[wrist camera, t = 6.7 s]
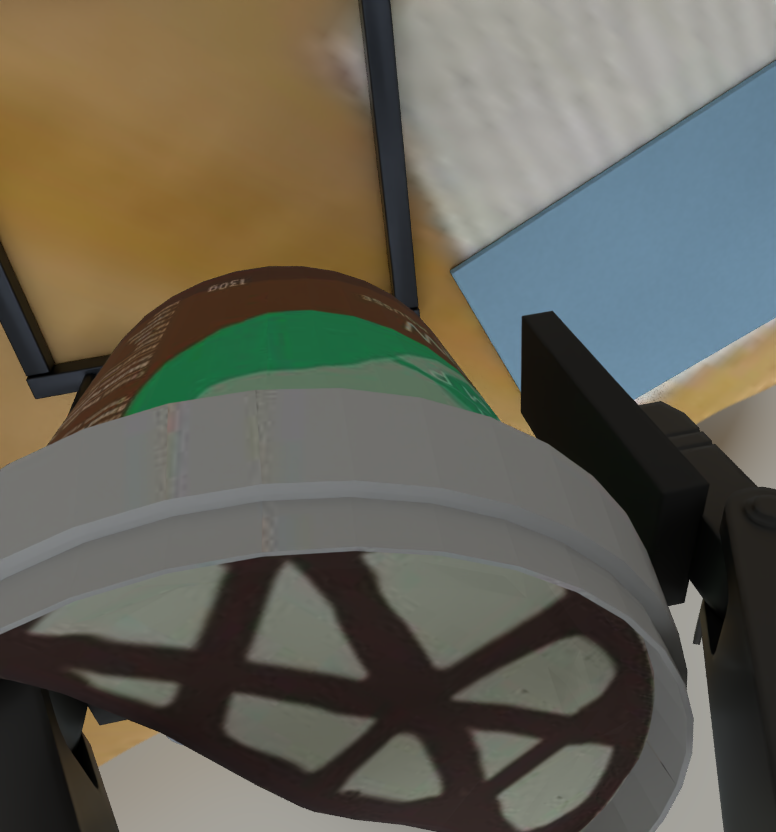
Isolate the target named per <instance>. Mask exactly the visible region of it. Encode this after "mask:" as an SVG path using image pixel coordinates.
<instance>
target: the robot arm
mask: <svg viewBox="0 0 776 832" xmlns="http://www.w3.org/2000/svg"><path fill="white" fill-rule="evenodd" d="M521 413H522V415H523V417H524V418H525V420H526V422H527V423H528V425H529V426H530V428H531V430H532V431H533V433H534V435H535V436H536V438H537V439H539V440H541V441H543V442H545V443H547V444H549V445H550V446H552V447H553V448H555V449H556V450H557V451H559V452H560V453H562V454H563V455H564V456H566V457H567V458H568V459H570V460H571V461H573V462H574V463H575V464H577V465H578V466H580V467H581V468H582V469H584V470H585V471H586V472H588V473H589V474H591V475H592V476H593V477H594V478H595V479H596V480H597V481H598V482H599V483H600V484H601V485H602V487H603V488H604V489H605V490H606V491H607V492H608V493H609V494H610V495H611V497H612V498H613V499H614V500H615V501H616V502H617V503H618V504H619V505H620V507H621V508H622V509H623V510H624V511H625V512H626V513H627V515H628V517H629V519H630V521H631V523H632V525H633V526H634V528H635V530H636V532H637V534H638V536H639V537H640V539H641V541H642V543H643V545H644V547H645V549H646V550H647V553H648V555H649V558H650V560H651V563H652V566H653V568H654V571H655V573H656V576H657V579H658V581H659V584H660V586H661V589H662V592H663V594H664V597H665V599H666V602H667V605H668V606H671V605H676V604H681V603H684V602H685V597H686V592H687V588H688V583H689V579H690V581H691V582H692V583H693V585H694V586H695V588H696V589H697V590H698V592H699V593H700V595H701V596H702V597H703V600H702V604H701V609H700V613H699V617H698V621H697V625H696V630H695V634H694V640H693V644H698V645H700V642H701V638H702V641H703V650H704V658H705V668H706V677H707V685H708V694H709V703H710V712H711V720H712V729H713V739H714V747H715V757H716V765H717V774H718V783H719V792H720V801H721V809H722V819H723V827H724V832H776V489H771V488H766V487H757V486H756V485H755V484H754V483H753V482H752V481H751V480H750V479H749V478H748V477H747V476H746V475H745V474H744V473H743V472H742V471H741V470H740V469H739V468H738V466H736V465H735V463H733V462H732V460H730V458H729V457H727V455H725V453H724V452H723V451H722V450H720V448H718V446H717V445H716V444H712V441H711V439H710V438H709V437H708V436H707V435H706V434H705V433H704V432H700V430H699V427H698V426H697V425H696V424H695V423H694V422H693V421H692V420H691V419H690V418H689V417H688V416H687V415H686V414H685V413H683V412H681V411H679V410H677V409H675V408H673V407H671V406H670V405H668V404H666V403H664V402H662V401H659V402H654V403H648V404H643V405H638V404H637V403H636V402H635V401H634V400H633V399H632V398H631V397H630V395H629V394H628V393H627V392H626V391H625V390H624V389H623V388H622V387H621V385H620V384H619V383H618V382H617V381H616V380H615V379H614V378H613V377H612V376H611V374H610V373H609V372H608V371H607V370H606V369H605V368H604V367H603V366H602V365H601V363H600V362H599V361H598V360H597V359H596V358H595V357H594V356H593V355H592V354H591V352H590V351H589V350H588V349H587V348H586V347H585V346H584V345H583V344H582V342H581V341H580V340H579V339H578V338H577V337H576V336H575V335H574V334H573V333H572V331H571V330H570V329H569V328H568V327H567V326H566V325H565V324H564V323H563V322H562V320H561V319H560V318H559V317H558V316H557V315H556V314H555V313H554V312H553V311H548V312H542V313H536V314H530V315H524V316H522V326H521ZM87 707H89V709H90V710H91V712H92V714H93V715H94V717H95V719H96V720H97V722H98V724H99V725H104V724H108V723H113V722H118V721H123V720H127V719H125V718H123V717H120V716H118V715H115V714H113V713H110V712H108V711H105V710H103V709H100V708H97V707H95V706H92V705H90V704H87V703H85V702H82V701H80V700H77V699H75V698H72V697H70V696H67V695H65V694H62V693H59V692H55V691H51V690H47V689H43V688H39V687H35V686H32V685H28V684H24V683H20V682H16V681H12V680H7V679H2V678H0V832H119V830H118V826H117V824H116V820H115V817H114V815H113V811H112V808H111V806H110V802H109V799H108V797H107V793H106V790H105V787H104V784H103V781H102V778H101V775H100V772H99V769H98V766H97V763H96V760H95V757H94V754H93V751H92V748H91V745H90V743H89V742H88V740H87V738H86V737H85V735H84V734H83V732H82V728H83V724H84V720H85V715H86V711H87Z"/></svg>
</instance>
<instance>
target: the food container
mask: <svg viewBox="0 0 776 832" xmlns="http://www.w3.org/2000/svg"><path fill="white" fill-rule="evenodd" d="M0 678H2V679H7V680H12V681H16V682H20V683H24V684H28V685H32V686H35V687H39V688H43V689H47V690H51V691H55V692H59V693H62V694H65V695H67V696H70V697H72V698H75V699H77V700H80V701H82V702H85V703H87V704H90V705H92V706H95V707H97V708H100V709H103V710H105V711H108V712H110V713H113V714H115V715H118V716H120V717H123V718H125V719H128V720H130V721H133V722H135V723H138V724H140V725H143V726H145V727H148V728H150V729H153V730H155V731H158V732H161V733H162V734H164V735H166V736H168V737H170V738H171V739H173V740H175V741H177V742H179V743H181V744H182V745H184V746H186V747H188V748H190V749H192V750H193V751H195V752H197V753H199V754H201V755H202V756H204V757H206V758H208V759H210V760H212V761H214V762H215V763H217V764H219V765H221V766H223V767H224V768H226V769H228V770H230V771H232V772H234V773H235V774H237V775H239V776H241V777H243V778H244V779H246V780H248V781H250V782H252V783H254V784H255V785H257V786H259V787H261V788H263V789H265V790H268V791H270V792H272V793H274V794H276V795H278V796H280V797H282V798H284V799H286V800H288V801H290V802H292V803H294V804H296V805H298V806H300V807H303V808H306V809H309V810H311V811H314V812H318V813H324V814H329V815H335V816H340V817H345V818H350V819H354V820H363V821H373V822H382V823H391V824H401V825H406V826H411V827H417V828H421V829H426V830H431V831H436V832H655V831H656V829H657V828H658V827H659V825H660V824H661V823H662V822H663V820H664V819H665V817H666V815H667V814H668V812H669V810H670V808H671V806H672V804H673V803H674V801H675V799H676V797H677V795H678V793H679V791H680V789H681V788H682V785H683V782H684V779H685V775H686V772H687V768H688V765H689V762H690V758H691V755H692V744H693V743H692V742H693V721H694V720H693V714H692V711H691V707H690V703H689V698H688V695H687V668H686V663H685V659H684V655H683V650H682V646H681V642H680V638H679V633H678V631H677V628H676V626H675V623H674V620H673V618H672V615H671V613H670V610H669V607H668V605H667V602H666V599H665V597H664V594H663V592H662V589H661V586H660V584H659V581H658V579H657V576H656V573H655V571H654V568H653V566H652V563H651V560H650V558H649V555H648V553H647V550H646V549H645V547H644V545H643V543H642V541H641V539H640V537H639V536H638V534H637V532H636V530H635V528H634V526H633V525H632V523H631V521H630V519H629V517H628V515H627V513H626V512H625V511H624V510H623V509H622V508H621V507H620V505H619V504H618V503H617V502H616V501H615V500H614V499H613V498H612V497H611V495H610V494H609V493H608V492H607V491H606V490H605V489H604V488H603V487H602V485H601V484H600V483H599V482H598V481H597V480H596V479H595V478H594V477H593V476H592V475H591V474H589V473H588V472H586V471H585V470H584V469H582V468H581V467H580V466H578V465H577V464H575V463H574V462H573V461H571V460H570V459H568V458H567V457H566V456H564V455H563V454H562V453H560V452H559V451H557V450H556V449H555V448H553V447H552V446H550V445H549V444H547V443H545V442H543V441H541V440H539V439H537V438H534V437H532V436H530V435H528V434H526V433H524V432H522V431H519V430H517V429H515V428H513V427H511V426H509V425H507V424H504V423H502V422H501V421H500V420H499V419H498V417H497V416H496V415H495V413H494V412H493V411H492V409H491V408H490V407H489V405H488V404H487V403H486V401H485V400H484V399H483V397H482V396H481V395H480V394H479V392H478V391H477V390H476V388H475V387H474V386H473V384H472V383H471V382H470V380H469V379H468V378H467V376H466V375H465V374H464V373H463V371H462V370H461V369H460V367H459V366H458V365H457V363H456V362H455V361H454V359H453V358H452V357H451V355H450V354H449V353H448V351H447V350H446V349H445V348H444V346H443V345H442V344H441V342H440V341H439V340H438V338H437V337H436V336H435V334H434V333H433V332H432V331H431V330H430V328H429V327H428V326H427V325H426V324H425V323H424V322H423V321H422V320H421V319H420V318H419V317H418V315H417V314H416V313H415V312H414V311H413V310H411V309H410V308H409V307H407V306H406V305H405V304H403V303H402V302H401V301H399V300H398V299H397V298H395V297H394V296H393V295H391V294H389V293H387V292H385V291H384V290H382V289H380V288H378V287H376V286H374V285H372V284H370V283H368V282H366V281H364V280H360V279H357V278H354V277H351V276H348V275H345V274H342V273H339V272H335V271H330V270H323V269H317V268H310V267H304V266H268V267H262V268H255V269H249V270H242V271H236V272H232V273H229V274H226V275H223V276H219V277H216V278H213V279H210V280H207V281H203V282H201V283H199V284H197V285H195V286H193V287H191V288H189V289H187V290H185V291H183V292H181V293H179V294H177V295H175V296H173V297H171V298H170V299H168V300H167V301H166V302H164V303H163V304H161V305H160V306H158V307H157V308H156V309H154V310H153V311H151V312H150V313H149V314H147V315H146V316H145V317H144V318H143V319H142V320H141V321H140V322H139V323H138V324H137V325H136V326H135V327H134V328H133V329H132V330H131V331H130V332H129V333H128V334H127V335H126V336H125V337H124V338H123V339H122V340H121V341H120V343H119V344H118V346H117V347H116V348H115V350H114V351H113V353H112V354H111V356H110V357H109V358H108V360H107V361H106V363H105V364H104V365H103V367H102V368H101V370H100V371H99V373H98V374H97V375H96V377H95V378H94V380H93V381H92V382H91V384H90V385H89V387H88V388H87V390H86V391H85V392H84V394H83V395H82V397H81V398H80V400H79V401H78V402H77V404H76V405H75V407H74V408H73V409H72V411H71V412H70V414H69V415H68V417H67V418H66V419H65V421H64V422H63V424H62V425H61V426H60V428H59V429H58V431H57V432H56V434H55V435H54V436H53V438H52V439H51V441H50V442H49V443H48V445H47V446H46V447H44V448H42V449H40V450H38V451H36V452H33V453H31V454H29V455H27V456H25V457H23V458H21V459H18V460H16V461H14V462H12V463H10V464H8V465H6V466H5V467H3V468H2V469H0Z"/></svg>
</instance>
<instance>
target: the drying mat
mask: <svg viewBox="0 0 776 832" xmlns="http://www.w3.org/2000/svg"><path fill="white" fill-rule="evenodd" d="M450 273H451V274H452V276H453V278H454V280H455V281H456V283H457V285H458V286H459V288H460V290H461V291H462V293H463V295H464V296H465V298H466V300H467V302H468V303H469V305H470V307H471V308H472V310H473V312H474V313H475V315H476V317H477V319H478V320H479V322H480V324H481V325H482V327H483V329H484V330H485V332H486V334H487V336H488V337H489V339H490V341H491V342H492V344H493V346H494V347H495V349H496V351H497V352H498V354H499V356H500V358H501V359H502V361H503V363H504V364H505V366H506V368H507V369H508V371H509V373H510V375H511V376H512V378H513V380H514V381H515V383H516V385H517V386H518V388H519V390H520V392H521V326H522V316H524V315H530V314H536V313H542V312H548V311H553V312H554V313H555V314H556V315H557V316H558V317H559V318H560V319H561V320H562V322H563V323H564V324H565V325H566V326H567V327H568V328H569V329H570V330H571V331H572V333H573V334H574V335H575V336H576V337H577V338H578V339H579V340H580V341H581V342H582V344H583V345H584V346H585V347H586V348H587V349H588V350H589V351H590V352H591V354H592V355H593V356H594V357H595V358H596V359H597V360H598V361H599V362H600V363H601V365H602V366H603V367H604V368H605V369H606V370H607V371H608V372H609V373H610V374H611V376H612V377H613V378H614V379H615V380H616V381H617V382H618V383H619V384H620V385H621V387H622V388H623V389H624V390H625V391H626V392H627V393H628V394H629V395H630V397H631V398H632V399H633V400H634V399H636V398H638V397H639V396H641V395H643V394H645V393H646V392H648V391H650V390H652V389H653V388H655V387H657V386H658V385H660V384H662V383H664V382H665V381H667V380H669V379H670V378H672V377H674V376H676V375H677V374H679V373H681V372H683V371H684V370H686V369H688V368H689V367H691V366H693V365H695V364H696V363H698V362H700V361H701V360H703V359H705V358H707V357H708V356H710V355H712V354H713V353H715V352H717V351H719V350H720V349H722V348H724V347H726V346H727V345H729V344H731V343H732V342H734V341H736V340H738V339H739V338H741V337H743V336H744V335H746V334H748V333H750V332H751V331H753V330H755V329H757V328H758V327H760V326H762V325H763V324H765V323H767V322H769V321H770V320H772V319H774V318H775V317H776V60H775V61H774V62H772V63H771V64H769V65H768V66H766V67H765V68H763V69H762V70H760V71H758V72H757V73H755V74H754V75H752V76H751V77H749V78H748V79H746V80H745V81H743V82H741V83H740V84H738V85H737V86H735V87H734V88H732V89H731V90H729V91H728V92H726V93H724V94H723V95H721V96H720V97H718V98H717V99H715V100H714V101H712V102H710V103H709V104H707V105H706V106H704V107H703V108H701V109H700V110H698V111H697V112H695V113H693V114H692V115H690V116H689V117H687V118H686V119H684V120H683V121H681V122H680V123H678V124H676V125H675V126H673V127H672V128H670V129H669V130H667V131H666V132H664V133H663V134H661V135H659V136H658V137H656V138H655V139H653V140H652V141H650V142H649V143H647V144H645V145H644V146H642V147H641V148H639V149H638V150H636V151H635V152H633V153H632V154H630V155H628V156H627V157H625V158H624V159H622V160H621V161H619V162H618V163H616V164H615V165H613V166H611V167H610V168H608V169H607V170H605V171H604V172H602V173H601V174H599V175H597V176H596V177H594V178H593V179H591V180H590V181H588V182H587V183H585V184H584V185H582V186H580V187H579V188H577V189H576V190H574V191H573V192H571V193H570V194H568V195H567V196H565V197H563V198H562V199H560V200H559V201H557V202H556V203H554V204H553V205H551V206H550V207H548V208H546V209H545V210H543V211H542V212H540V213H539V214H537V215H536V216H534V217H532V218H531V219H529V220H528V221H526V222H525V223H523V224H522V225H520V226H519V227H517V228H515V229H514V230H512V231H511V232H509V233H508V234H506V235H505V236H503V237H502V238H500V239H498V240H497V241H495V242H494V243H492V244H491V245H489V246H488V247H486V248H485V249H483V250H481V251H480V252H478V253H477V254H475V255H474V256H472V257H471V258H469V259H467V260H466V261H464V262H463V263H461V264H460V265H458V266H457V267H455V268H454V269H452V270H450Z"/></svg>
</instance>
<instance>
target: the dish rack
mask: <svg viewBox="0 0 776 832" xmlns="http://www.w3.org/2000/svg"><path fill="white" fill-rule="evenodd" d="M358 2H359V11H360V19H361V28H362V37H363V46H364V54H365V63H366V72H367V81H368V89H369V98H370V107H371V116H372V124H373V133H374V142H375V150H376V159H377V168H378V177H379V185H380V194H381V203H382V212H383V220H384V229H385V238H386V247H387V255H388V264H389V273H390V282H391V290H392V295H393V296H394V297H395V298H397V299H398V300H399V301H401V302H402V303H403V304H405V305H406V306H407V307H409V308H410V309H411V310H413V311H414V312H415V313H416V314H417V315H418V317H419V318H420V311H419V309H418V297H417V286H416V275H415V264H414V254H413V243H412V232H411V221H410V210H409V199H408V188H407V177H406V166H405V155H404V144H403V133H402V123H401V112H400V101H399V90H398V79H397V68H396V57H395V46H394V35H393V24H392V13H391V2H390V0H358ZM0 322H1V324H2V326H3V328H4V331H5V333H6V335H7V337H8V339H9V341H10V343H11V345H12V347H13V349H14V351H15V353H16V355H17V358H18V360H19V362H20V364H21V366H22V368H23V370H24V372H25V374H26V376H27V379H26V381H27V383H28V385H29V387H30V389H31V391H32V393H33V395H34V397H35V399H40V398H45V397H51V396H56V395H62V394H67V393H73V392H77V394H76V397H75V399H74V402H73V404H72V406H71V409H70V411H69V414H70V412H71V411H72V409H73V408H74V407H75V405H76V404H77V402H78V401H79V400H80V398H81V397H82V395H83V394H84V392H85V391H86V390H87V388H88V387H89V385H90V384H91V382H92V381H93V380H94V378H95V377H96V375H97V374H98V373H99V371H100V370H101V368H102V367H103V365H104V364H105V363H106V361H107V360H108V358H109V357H110V356H111V355H107V356H101V357H96V358H90V359H84V360H79V361H73V362H67V363H62V364H56V365H54V361H53V359H52V356H51V354H50V352H49V350H48V347H47V345H46V343H45V341H44V339H43V336H42V334H41V332H40V330H39V327H38V325H37V323H36V321H35V318H34V316H33V314H32V312H31V309H30V307H29V305H28V303H27V301H26V298H25V296H24V294H23V292H22V289H21V287H20V285H19V283H18V280H17V278H16V276H15V274H14V271H13V269H12V267H11V265H10V263H9V260H8V258H7V256H6V254H5V251H4V249H3V247H2V245H1V242H0ZM69 414H68V415H69ZM67 417H68V416H67Z"/></svg>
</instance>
